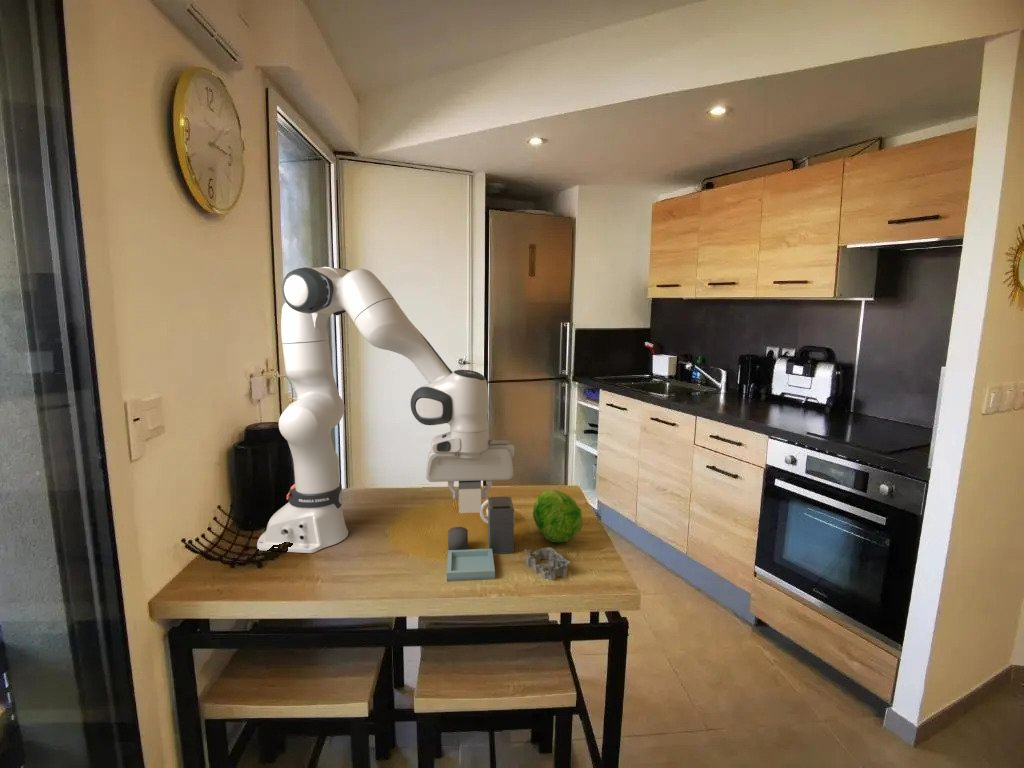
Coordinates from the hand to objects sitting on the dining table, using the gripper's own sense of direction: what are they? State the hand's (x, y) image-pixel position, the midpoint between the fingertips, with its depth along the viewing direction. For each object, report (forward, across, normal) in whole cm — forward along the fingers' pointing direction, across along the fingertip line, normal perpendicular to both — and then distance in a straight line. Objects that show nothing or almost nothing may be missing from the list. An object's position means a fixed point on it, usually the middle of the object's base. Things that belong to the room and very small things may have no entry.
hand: (470, 497), depth 122 cm
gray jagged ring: (+18, -18, +2) cm, 26 cm away
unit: (+18, -8, -10) cm, 22 cm away
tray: (+18, 0, 0) cm, 18 cm away
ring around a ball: (+18, -7, -23) cm, 30 cm away
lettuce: (+18, -24, -16) cm, 34 cm away
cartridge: (+3, 0, 0) cm, 3 cm away
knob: (+18, +3, -10) cm, 21 cm away
